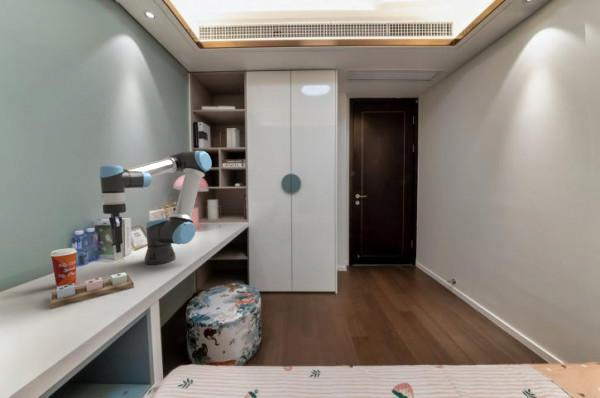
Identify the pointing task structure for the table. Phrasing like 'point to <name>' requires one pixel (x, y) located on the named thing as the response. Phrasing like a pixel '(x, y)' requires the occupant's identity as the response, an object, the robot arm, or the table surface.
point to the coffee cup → (64, 266)
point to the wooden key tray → (90, 293)
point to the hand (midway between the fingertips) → (118, 259)
